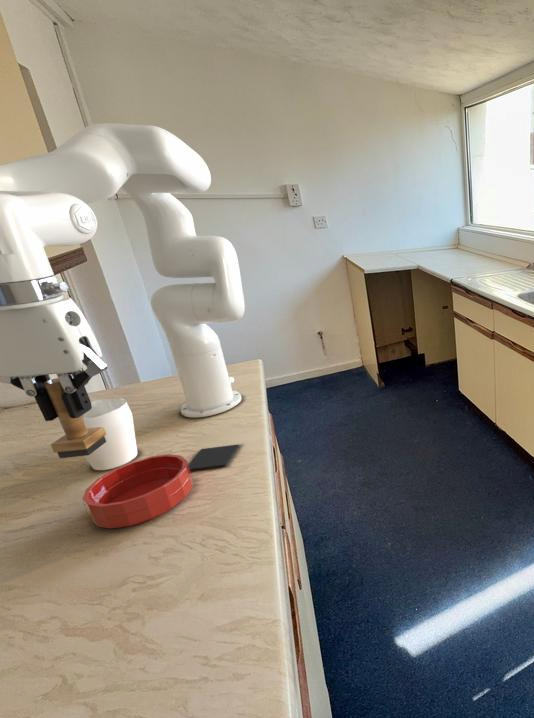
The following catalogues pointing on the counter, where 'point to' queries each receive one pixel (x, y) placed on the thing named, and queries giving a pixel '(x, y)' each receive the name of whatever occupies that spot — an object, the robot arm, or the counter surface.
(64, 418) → the wooden stamp
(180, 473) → the bowl
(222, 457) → the mat
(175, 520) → the counter surface
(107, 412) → the cup
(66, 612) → the counter surface
